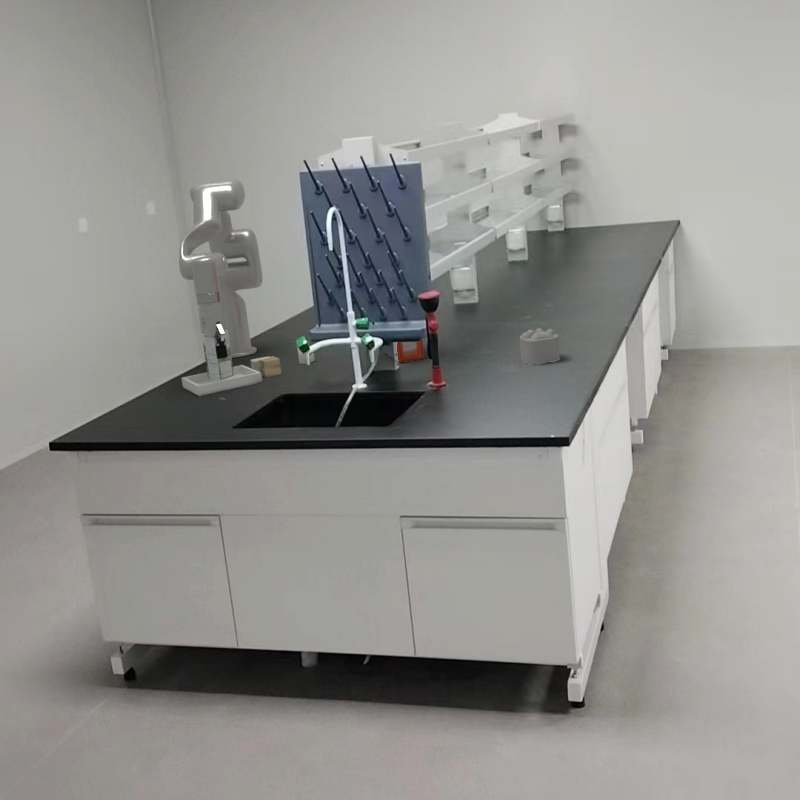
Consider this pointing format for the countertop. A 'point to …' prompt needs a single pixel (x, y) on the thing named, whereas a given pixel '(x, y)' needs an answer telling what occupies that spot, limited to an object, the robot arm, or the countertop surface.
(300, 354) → the pale grey block
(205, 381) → the grey tray
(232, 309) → the robot arm
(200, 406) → the countertop surface
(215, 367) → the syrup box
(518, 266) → the countertop surface
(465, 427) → the countertop surface
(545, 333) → the lumpy-topped squat cylinder
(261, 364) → the beech cube
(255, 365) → the sage block
